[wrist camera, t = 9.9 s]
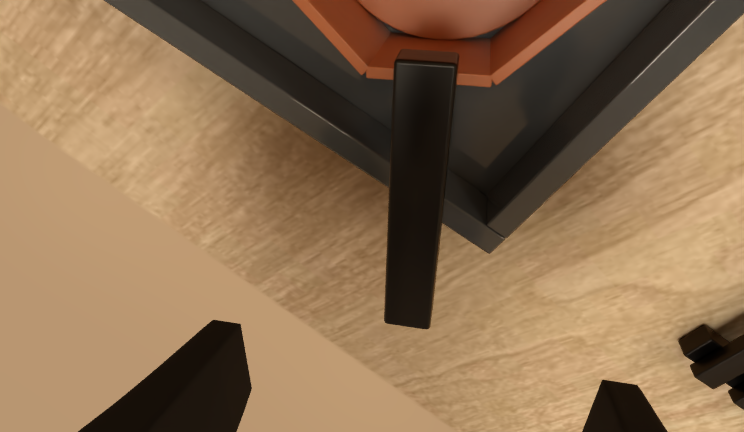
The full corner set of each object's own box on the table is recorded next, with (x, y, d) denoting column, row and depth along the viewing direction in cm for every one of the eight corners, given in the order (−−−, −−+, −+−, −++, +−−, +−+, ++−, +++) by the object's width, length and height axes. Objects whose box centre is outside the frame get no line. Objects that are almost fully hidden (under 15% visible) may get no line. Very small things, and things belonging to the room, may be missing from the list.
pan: (526, 254, 19) (536, 347, 15) (324, 230, 20) (285, 310, 16) (657, -322, 10) (749, -435, 7) (300, -308, 12) (211, -397, 8)
